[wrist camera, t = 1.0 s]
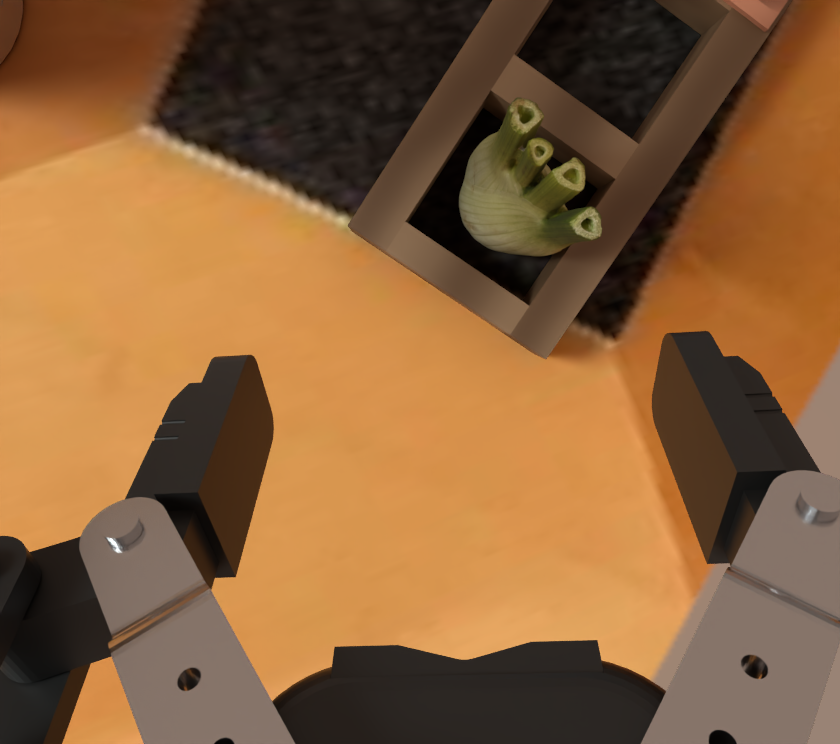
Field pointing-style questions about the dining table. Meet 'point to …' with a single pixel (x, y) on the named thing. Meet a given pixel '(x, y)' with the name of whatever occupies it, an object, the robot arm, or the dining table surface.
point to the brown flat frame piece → (557, 155)
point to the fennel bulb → (524, 191)
